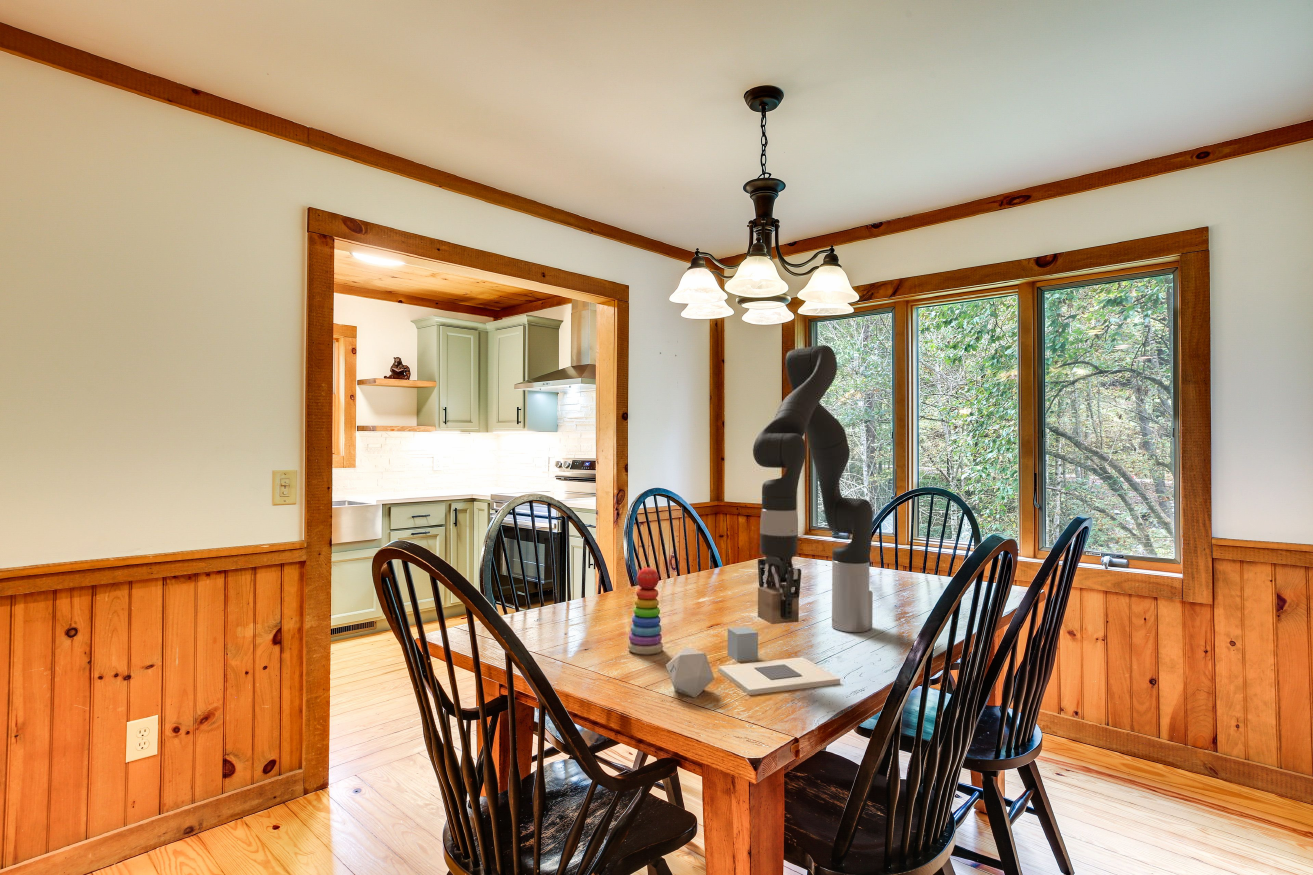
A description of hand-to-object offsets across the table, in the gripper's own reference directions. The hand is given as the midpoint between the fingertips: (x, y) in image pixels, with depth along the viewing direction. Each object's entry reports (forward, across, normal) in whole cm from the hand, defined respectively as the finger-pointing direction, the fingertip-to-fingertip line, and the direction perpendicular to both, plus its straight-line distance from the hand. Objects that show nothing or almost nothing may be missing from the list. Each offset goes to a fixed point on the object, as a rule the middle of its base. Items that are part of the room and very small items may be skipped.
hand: (778, 614), depth 140 cm
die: (+13, -2, +20) cm, 24 cm away
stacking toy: (+13, +25, +20) cm, 34 cm away
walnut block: (+1, 0, 0) cm, 1 cm away
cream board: (+13, 0, 0) cm, 13 cm away
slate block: (+13, +14, +1) cm, 19 cm away
